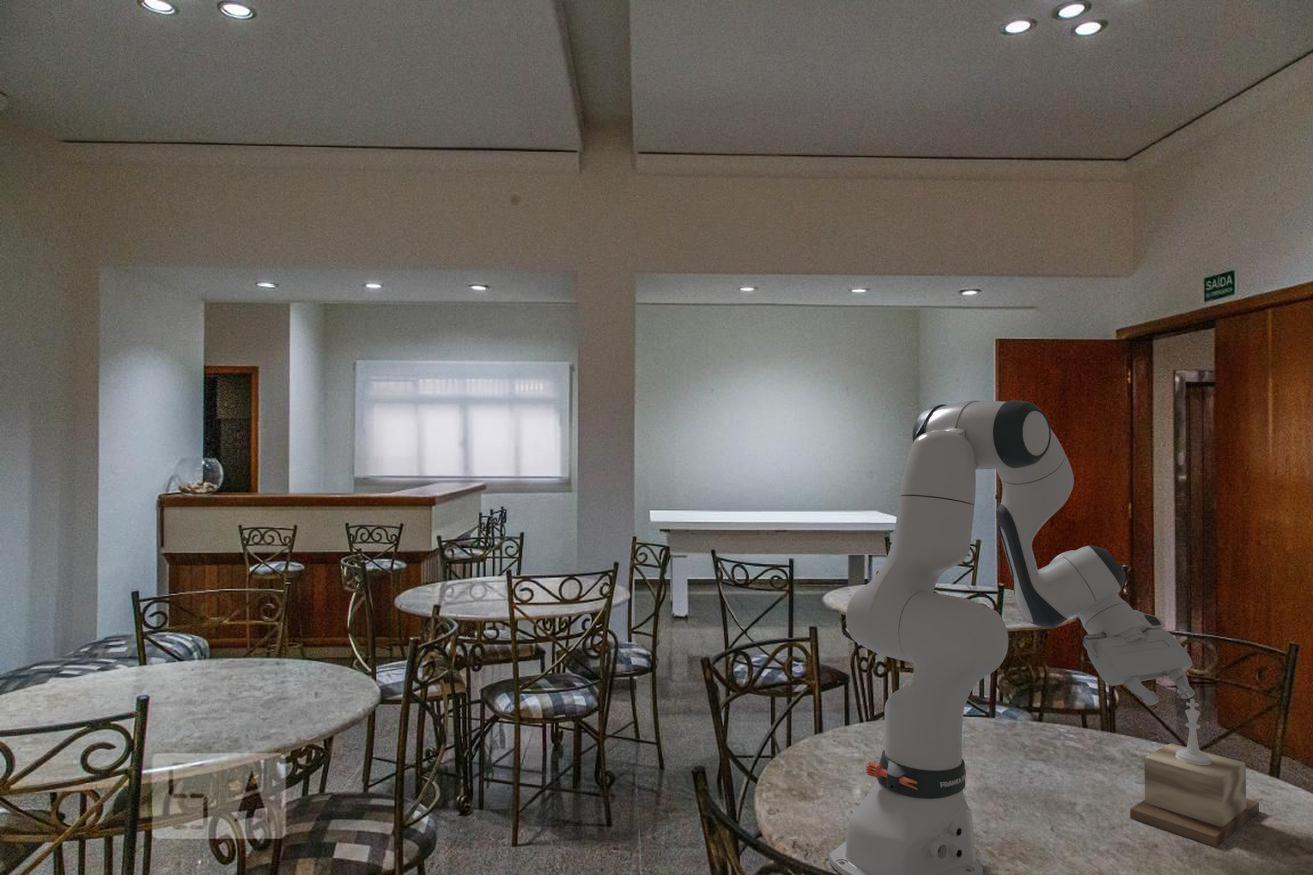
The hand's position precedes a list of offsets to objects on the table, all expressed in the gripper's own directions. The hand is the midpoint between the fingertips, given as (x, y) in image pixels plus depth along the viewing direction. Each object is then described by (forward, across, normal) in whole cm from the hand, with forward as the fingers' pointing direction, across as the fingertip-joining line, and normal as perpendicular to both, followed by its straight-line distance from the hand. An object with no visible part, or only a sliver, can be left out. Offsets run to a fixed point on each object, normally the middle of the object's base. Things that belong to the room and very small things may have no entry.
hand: (1172, 699), depth 134 cm
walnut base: (+15, 0, +10) cm, 18 cm away
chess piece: (+9, 0, +4) cm, 10 cm away
